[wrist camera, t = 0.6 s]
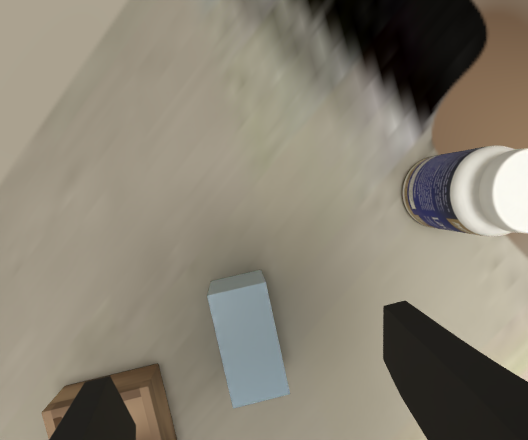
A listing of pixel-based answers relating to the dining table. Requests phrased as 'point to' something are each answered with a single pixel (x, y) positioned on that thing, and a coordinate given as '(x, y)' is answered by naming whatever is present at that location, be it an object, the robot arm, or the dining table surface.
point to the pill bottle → (471, 191)
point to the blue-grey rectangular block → (247, 338)
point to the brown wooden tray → (126, 403)
